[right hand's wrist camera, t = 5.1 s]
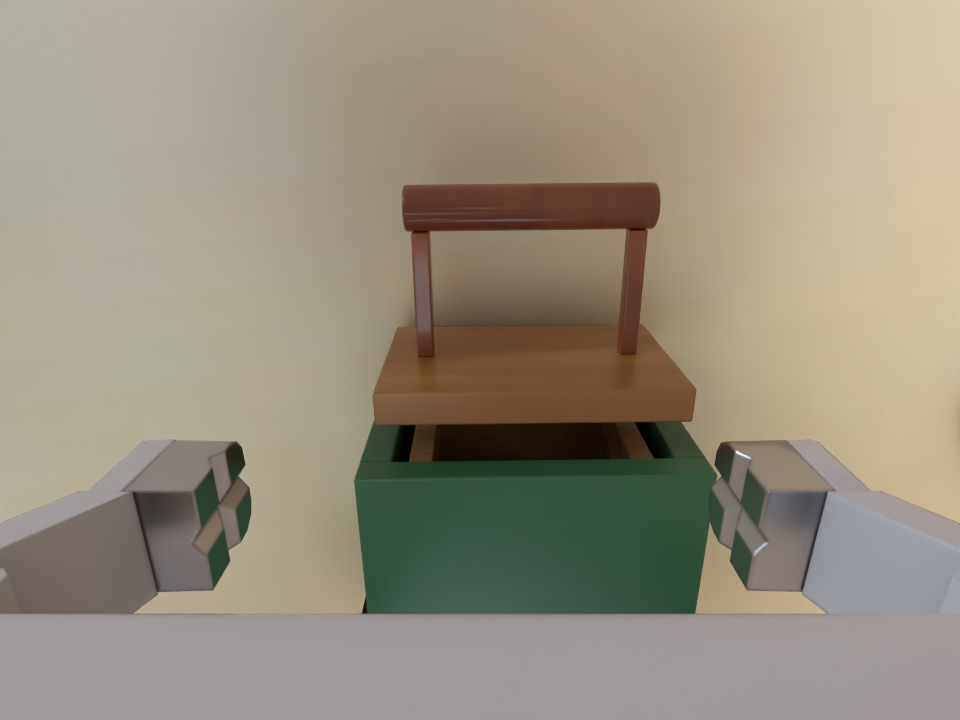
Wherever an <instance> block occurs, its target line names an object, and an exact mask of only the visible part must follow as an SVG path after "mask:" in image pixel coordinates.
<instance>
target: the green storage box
mask: <svg viewBox="0 0 960 720" xmlns="http://www.w3.org/2000/svg"><path fill="white" fill-rule="evenodd" d="M634 423H635V424H636V426H637V428H638V430H639V432H640V434H641V436H642V437H643V439H644V441H645V443H646V445H647V447H648V449H649V451H650V452H651V454H652V456H653V458H654V459H595V460H519V461H443V462H409V459H410V454H411V449H412V443H413V438H414V433H415V428H416V425H380V426H378V425H376V424H375V419H374V422H373V425H372V428H371V431H370V434H369V437H368V440H367V443H366V446H365V449H364V452H363V455H362V458H361V461H360V464H359V467H358V470H357V473H356V476H355V479H354V483H355V493H356V503H357V513H358V523H359V532H360V542H361V552H362V562H363V571H364V581H365V591H366V601H367V611H368V614H695V611H696V605H697V598H698V592H699V586H700V580H701V573H702V567H703V561H704V554H705V548H706V542H707V536H708V529H709V523H710V514H709V498H710V490H711V487H712V486H713V485H714V484H715V483H716V479H717V474H716V472H715V471H714V470H713V468H712V467H711V465H710V464H709V462H708V461H707V459H705V456H704V455H703V453H702V452H701V450H700V449H699V448H698V446H697V445H696V443H695V442H694V440H693V439H692V437H691V436H690V434H689V433H688V432H687V430H686V429H685V427H684V426H683V424H682V423H681V422H634Z"/></svg>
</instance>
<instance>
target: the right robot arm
mask: <svg viewBox="0 0 960 720" xmlns="http://www.w3.org/2000/svg"><path fill="white" fill-rule="evenodd" d="M244 466H245V460H244V455H243V451H242V447H241V446H240V445H239V444H238V443H237V441H189V440H179V441H177V440H149V441H142V442H141V443H140V444H139V445H138V446H137V447H136V448H135V449H134V450H132V451H131V452H130V453H129V454H128V455H127V456H126V457H125V458H124V459H123V460H122V461H121V462H120V463H118V464H117V465H116V466H115V467H114V468H113V469H112V470H111V471H110V472H109V473H108V474H107V475H105V476H104V477H103V478H102V479H101V480H100V481H99V482H98V483H97V484H96V485H95V486H94V487H92V488H91V489H90V490H89V491H78V492H76V493H73V494H71V495H68V496H66V497H63V498H61V499H59V500H56V501H54V502H51V503H49V504H46V505H44V506H41V507H39V508H36V509H34V510H32V511H29V512H27V513H24V514H22V515H19V516H17V517H14V518H12V519H9V520H7V521H5V522H2V523H0V720H960V523H958V522H955V521H953V520H950V519H948V518H945V517H943V516H941V515H938V514H936V513H933V512H931V511H928V510H926V509H923V508H921V507H919V506H916V505H914V504H911V503H909V502H906V501H904V500H901V499H899V498H897V497H894V496H892V495H889V494H887V493H884V492H882V491H871V490H870V489H869V488H868V487H867V486H865V485H864V484H863V483H862V482H861V481H860V480H859V479H858V478H857V477H856V476H855V475H854V474H853V473H851V472H850V471H849V470H848V469H847V468H846V467H845V466H844V465H843V464H842V463H841V462H840V461H838V460H837V459H836V458H835V457H834V456H833V455H832V454H831V453H830V452H829V451H828V450H827V449H826V448H824V447H823V446H822V445H821V444H820V443H819V442H817V441H814V440H788V441H786V440H774V441H732V442H723V443H721V444H720V446H719V448H718V450H717V454H716V460H715V466H716V468H717V469H718V471H719V472H720V474H721V475H722V476H721V477H720V478H719V479H718V481H717V482H716V483H715V484H714V485H713V486H712V487H711V490H710V498H709V514H710V522H711V525H712V528H713V532H714V534H715V535H716V537H717V539H718V541H719V543H721V544H723V545H724V546H726V547H727V548H729V549H731V550H732V552H731V558H730V562H731V564H732V565H733V567H734V569H735V571H736V572H737V574H738V576H739V577H740V579H741V581H742V583H743V584H744V586H745V588H746V589H747V590H752V591H789V592H802V595H804V596H805V597H806V598H808V599H809V600H810V601H812V602H813V603H814V604H816V605H817V606H818V607H820V608H821V609H822V610H824V611H825V612H826V613H828V614H132V613H134V612H135V611H136V610H138V609H139V608H141V607H142V606H143V605H145V604H146V603H147V602H149V601H150V600H151V599H153V598H154V597H155V596H157V595H158V592H170V591H206V590H214V588H215V586H216V584H217V583H218V581H219V579H220V578H221V576H222V574H223V572H224V571H225V569H226V567H227V565H228V564H229V562H230V557H229V552H228V550H229V549H231V548H233V547H234V546H236V545H237V544H239V543H241V541H242V539H243V537H244V535H245V534H246V532H247V529H248V525H249V520H250V516H251V496H250V490H249V487H248V486H247V485H246V484H245V483H244V482H243V481H242V479H241V478H240V477H239V476H238V475H239V474H240V472H241V471H242V469H243V468H244Z"/></svg>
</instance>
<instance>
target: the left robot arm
mask: <svg viewBox="0 0 960 720" xmlns="http://www.w3.org/2000/svg"><path fill="white" fill-rule="evenodd" d="M362 614H368V611H367V601H366V598H365V602H364V607H363V611H362Z"/></svg>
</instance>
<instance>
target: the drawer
mask: <svg viewBox="0 0 960 720" xmlns="http://www.w3.org/2000/svg"><path fill="white" fill-rule="evenodd" d="M659 212H660V192H659V187H658V185H657V184H656V183H654V182H633V183H542V184H451V185H405V186H404V187H403V191H402V215H403V224H404V228H405V230H406V231H407V232H412V234H411V241H412V260H413V280H414V299H415V318H416V327H398V328H397V330H396V333H395V336H394V338H393V341H392V344H391V346H390V349H389V352H388V354H387V357H386V360H385V362H384V365H383V368H382V370H381V373H380V376H379V378H378V381H377V384H376V386H375V389H374V392H373V406H374V418H375V424H376V425H378V426H380V425H416V428H415V433H414V438H413V443H412V449H411V454H410V459H409V462H443V461H519V460H595V459H654V458H653V456H652V454H651V452H650V451H649V449H648V447H647V445H646V443H645V441H644V439H643V437H642V436H641V434H640V432H639V430H638V428H637V426H636V424H635V423H634V422H690V421H692V418H693V410H694V403H695V396H696V388H695V387H694V386H693V384H692V383H691V382H690V381H689V380H688V378H687V377H686V376H685V375H684V374H683V373H682V371H681V370H680V369H679V368H678V367H677V365H676V364H675V363H674V362H673V361H672V359H671V358H670V357H669V356H668V355H667V353H666V352H665V351H664V350H663V349H662V347H661V346H660V345H659V344H658V343H657V341H656V340H655V339H654V338H653V337H652V335H651V334H650V333H649V332H648V331H647V329H646V328H645V327H644V326H643V325H642V324H639V319H640V308H641V298H642V287H643V276H644V265H645V255H646V244H647V233H648V232H647V230H646V229H652V228H654V227H655V225H656V223H657V220H658V217H659ZM593 229H627V230H626V242H625V255H624V267H623V280H622V292H621V305H620V317H619V325H539V326H456V327H434V317H433V292H432V267H431V243H430V231H505V230H593Z"/></svg>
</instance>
